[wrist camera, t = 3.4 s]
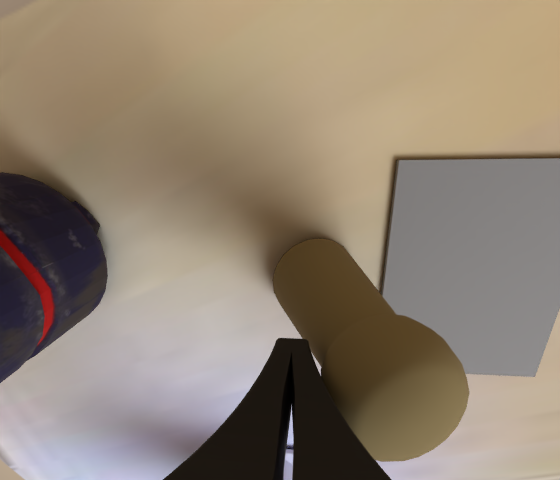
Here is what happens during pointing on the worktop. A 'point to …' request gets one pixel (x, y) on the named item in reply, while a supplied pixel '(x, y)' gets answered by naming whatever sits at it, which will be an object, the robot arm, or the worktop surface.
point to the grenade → (44, 268)
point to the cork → (371, 354)
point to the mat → (478, 257)
